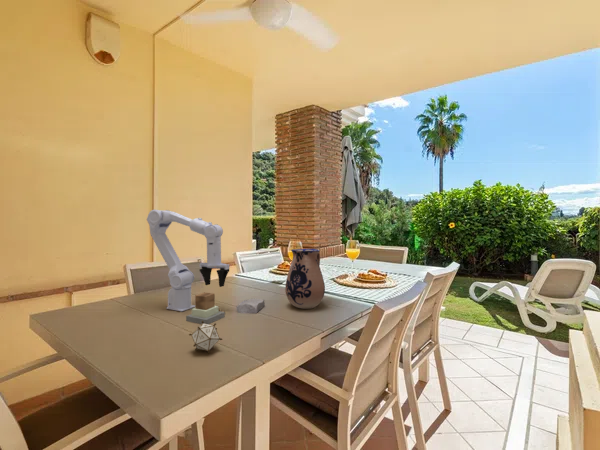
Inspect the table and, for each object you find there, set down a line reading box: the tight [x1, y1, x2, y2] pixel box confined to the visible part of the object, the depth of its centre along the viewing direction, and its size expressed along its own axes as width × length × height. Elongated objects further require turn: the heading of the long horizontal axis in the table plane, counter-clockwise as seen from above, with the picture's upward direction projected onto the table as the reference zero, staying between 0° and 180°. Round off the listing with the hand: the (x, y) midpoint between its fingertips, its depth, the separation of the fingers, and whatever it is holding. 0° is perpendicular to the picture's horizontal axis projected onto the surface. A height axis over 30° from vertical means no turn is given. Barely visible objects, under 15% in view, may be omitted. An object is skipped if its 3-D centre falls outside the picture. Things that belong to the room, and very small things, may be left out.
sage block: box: [191, 305, 220, 318], centre depth 115 cm, size 7×7×2 cm
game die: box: [188, 321, 223, 355], centre depth 88 cm, size 9×8×10 cm
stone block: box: [236, 298, 266, 314], centre depth 128 cm, size 12×5×10 cm
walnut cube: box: [194, 292, 216, 310], centre depth 116 cm, size 5×5×5 cm
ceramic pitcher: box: [284, 248, 326, 310], centre depth 134 cm, size 18×21×25 cm
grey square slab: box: [185, 310, 226, 325], centre depth 116 cm, size 10×10×2 cm
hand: (214, 285), depth 126 cm, fingers open, 7 cm apart
